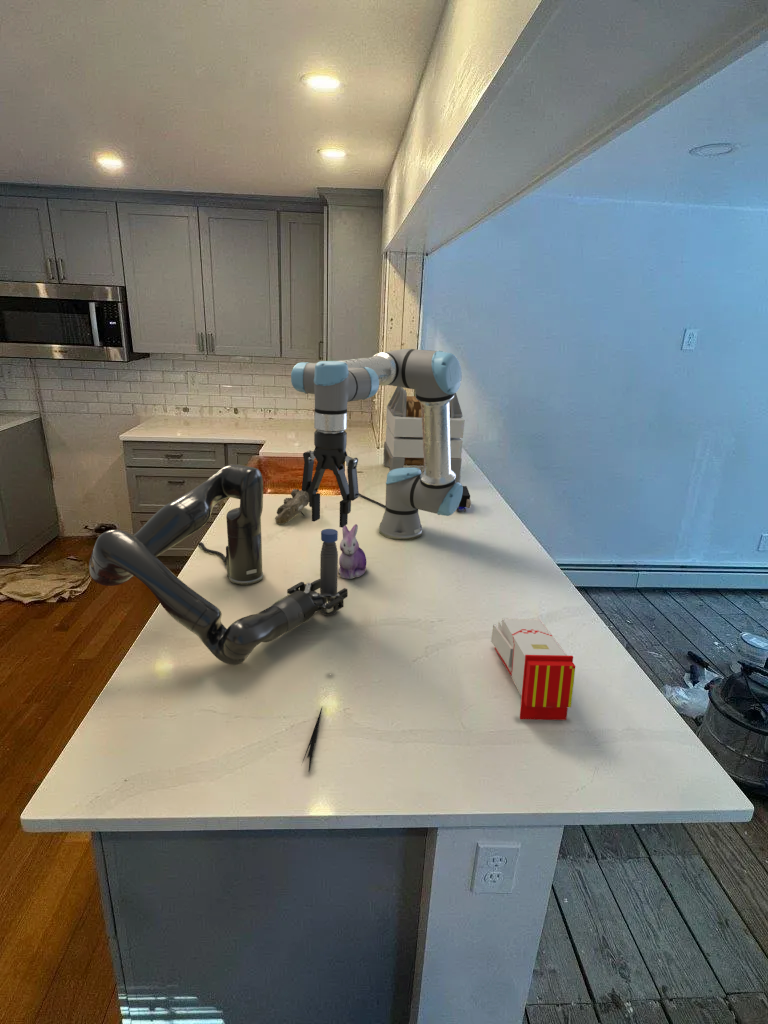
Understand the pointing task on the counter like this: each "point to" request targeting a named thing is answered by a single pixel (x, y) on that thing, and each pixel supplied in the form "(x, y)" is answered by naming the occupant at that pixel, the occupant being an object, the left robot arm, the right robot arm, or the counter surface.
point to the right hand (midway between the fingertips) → (329, 522)
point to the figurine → (351, 555)
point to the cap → (329, 535)
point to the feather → (313, 740)
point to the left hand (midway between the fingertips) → (333, 587)
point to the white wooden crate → (417, 433)
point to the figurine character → (464, 499)
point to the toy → (535, 667)
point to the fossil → (292, 506)
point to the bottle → (328, 570)
